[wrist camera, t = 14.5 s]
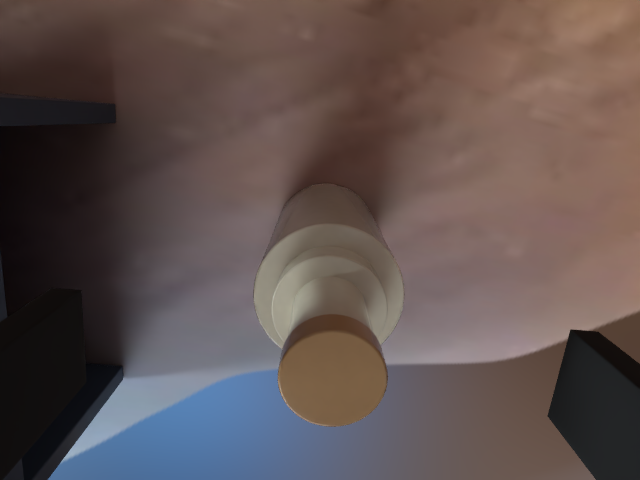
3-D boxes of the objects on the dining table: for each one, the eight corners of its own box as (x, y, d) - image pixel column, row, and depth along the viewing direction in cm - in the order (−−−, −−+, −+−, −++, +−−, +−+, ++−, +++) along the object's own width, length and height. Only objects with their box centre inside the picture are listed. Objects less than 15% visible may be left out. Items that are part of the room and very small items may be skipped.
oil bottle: (281, 179, 25) (226, 266, 11) (379, 187, 26) (461, 286, 11) (274, 272, 27) (218, 463, 12) (367, 280, 27) (425, 479, 12)
